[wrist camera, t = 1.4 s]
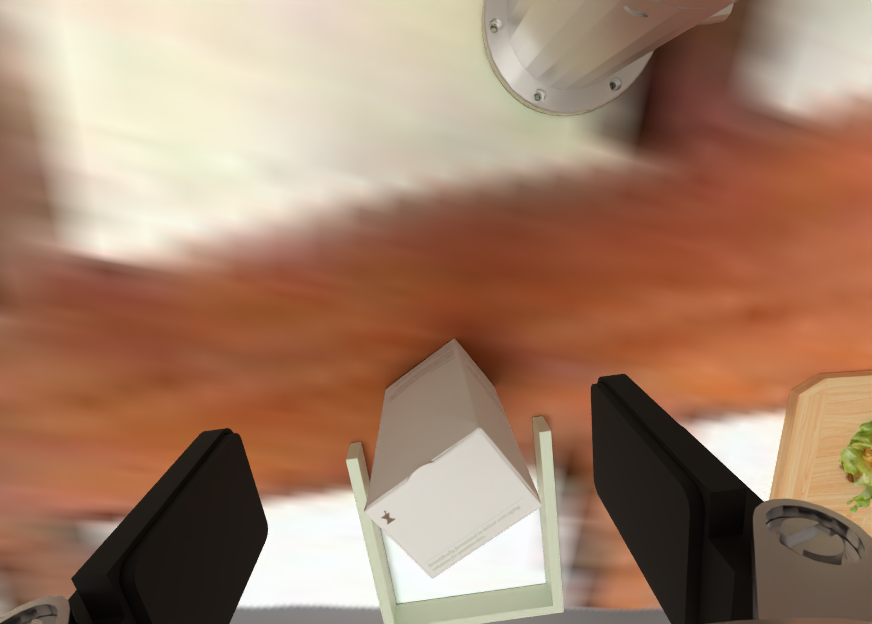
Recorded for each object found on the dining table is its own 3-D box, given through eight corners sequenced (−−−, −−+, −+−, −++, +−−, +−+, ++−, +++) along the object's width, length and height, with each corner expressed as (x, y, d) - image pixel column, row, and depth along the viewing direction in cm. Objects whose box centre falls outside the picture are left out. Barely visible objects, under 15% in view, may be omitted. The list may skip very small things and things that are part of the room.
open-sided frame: (542, 415, 39) (550, 430, 37) (556, 589, 45) (563, 612, 43) (350, 443, 39) (346, 459, 37) (388, 612, 45) (387, 636, 43)
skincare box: (425, 436, 40) (428, 587, 25) (380, 385, 38) (354, 514, 23) (499, 385, 38) (549, 512, 23) (455, 330, 37) (479, 429, 22)
